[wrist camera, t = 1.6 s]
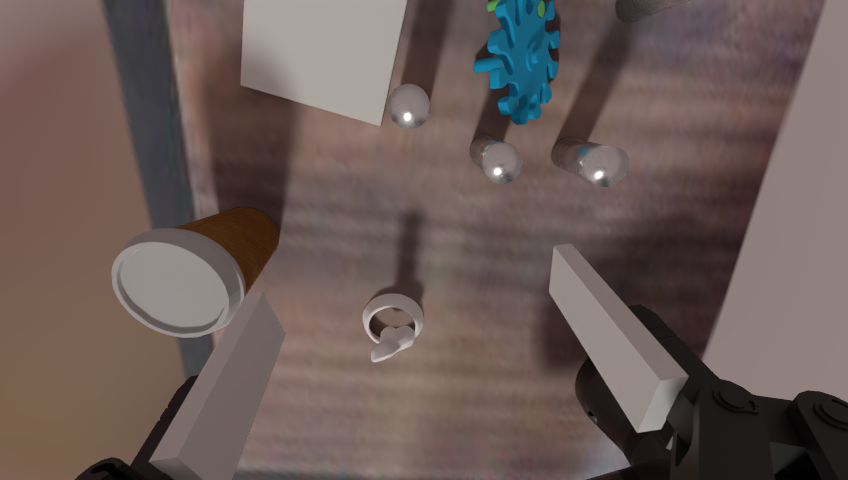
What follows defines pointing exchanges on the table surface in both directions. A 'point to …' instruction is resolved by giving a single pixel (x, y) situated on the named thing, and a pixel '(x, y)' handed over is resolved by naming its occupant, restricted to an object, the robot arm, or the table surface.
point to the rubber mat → (323, 52)
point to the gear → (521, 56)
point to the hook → (390, 336)
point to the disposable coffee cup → (194, 271)
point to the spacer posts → (567, 154)
